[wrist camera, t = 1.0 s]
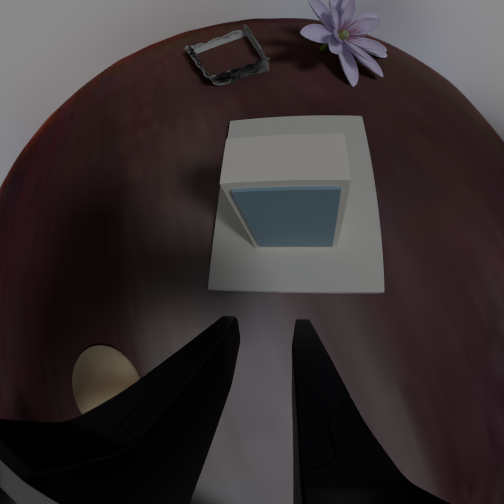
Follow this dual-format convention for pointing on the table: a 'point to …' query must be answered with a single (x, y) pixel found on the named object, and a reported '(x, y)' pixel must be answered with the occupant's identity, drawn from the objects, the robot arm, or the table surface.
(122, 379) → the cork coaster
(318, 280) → the mat
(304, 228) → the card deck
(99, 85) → the table surface
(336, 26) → the water lily
